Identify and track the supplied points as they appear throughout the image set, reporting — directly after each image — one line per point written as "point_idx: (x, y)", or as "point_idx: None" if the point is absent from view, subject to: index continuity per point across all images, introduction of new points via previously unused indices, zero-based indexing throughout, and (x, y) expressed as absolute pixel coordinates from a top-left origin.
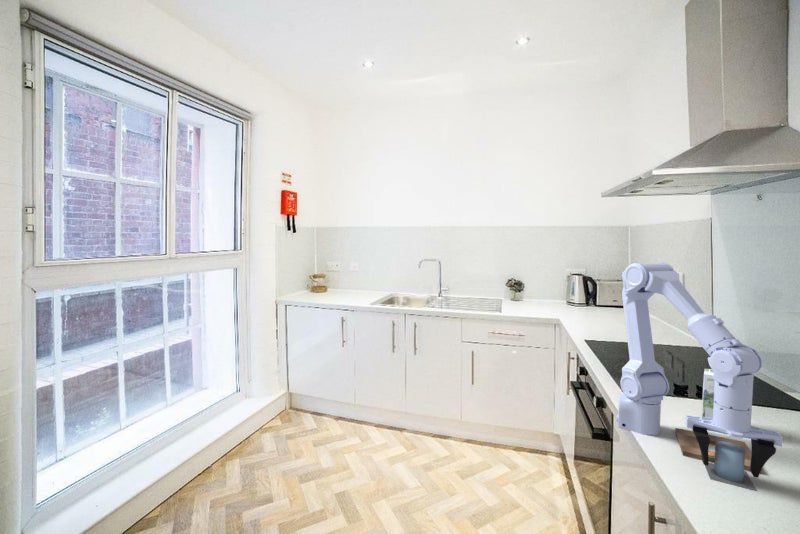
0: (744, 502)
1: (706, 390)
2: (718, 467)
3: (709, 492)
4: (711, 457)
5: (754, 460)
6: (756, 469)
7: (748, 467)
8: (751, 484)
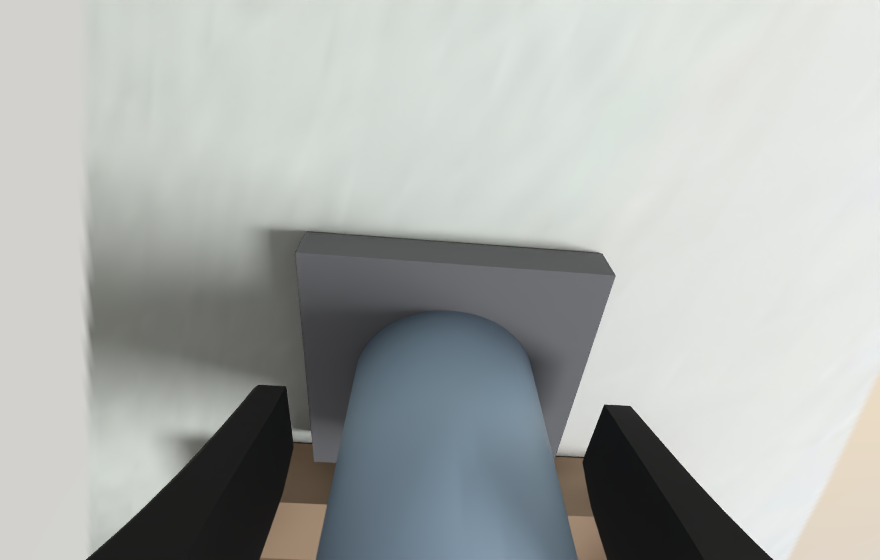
0: (428, 81)
1: None
2: (538, 401)
3: (676, 113)
4: None
5: (230, 546)
6: (243, 442)
7: (293, 494)
8: (317, 326)
